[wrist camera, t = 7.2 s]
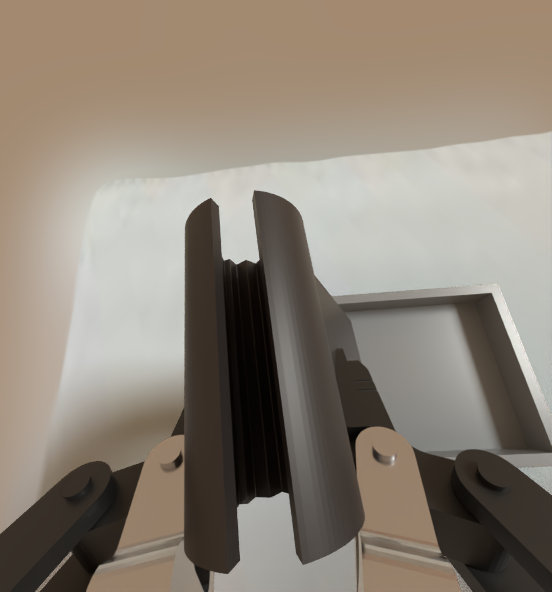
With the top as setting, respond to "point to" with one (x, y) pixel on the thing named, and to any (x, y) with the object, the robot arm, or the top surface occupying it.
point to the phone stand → (263, 390)
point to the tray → (453, 372)
